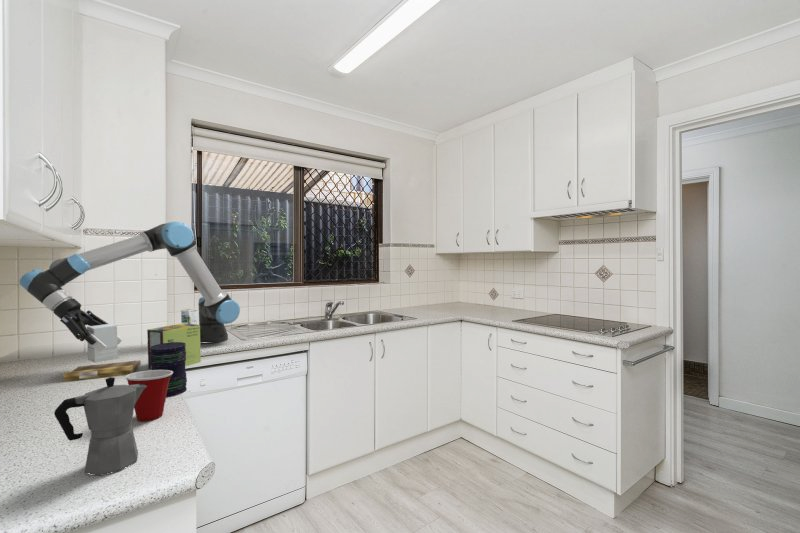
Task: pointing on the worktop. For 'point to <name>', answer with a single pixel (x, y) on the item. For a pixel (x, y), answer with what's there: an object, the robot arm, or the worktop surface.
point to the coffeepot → (105, 425)
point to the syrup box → (189, 316)
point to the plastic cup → (150, 393)
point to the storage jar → (171, 364)
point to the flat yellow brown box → (102, 370)
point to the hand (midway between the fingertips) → (111, 345)
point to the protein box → (177, 340)
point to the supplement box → (106, 336)
